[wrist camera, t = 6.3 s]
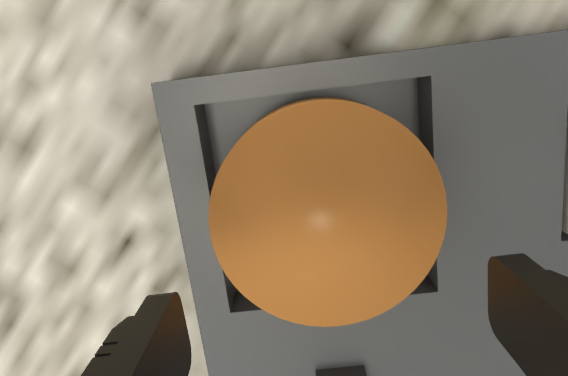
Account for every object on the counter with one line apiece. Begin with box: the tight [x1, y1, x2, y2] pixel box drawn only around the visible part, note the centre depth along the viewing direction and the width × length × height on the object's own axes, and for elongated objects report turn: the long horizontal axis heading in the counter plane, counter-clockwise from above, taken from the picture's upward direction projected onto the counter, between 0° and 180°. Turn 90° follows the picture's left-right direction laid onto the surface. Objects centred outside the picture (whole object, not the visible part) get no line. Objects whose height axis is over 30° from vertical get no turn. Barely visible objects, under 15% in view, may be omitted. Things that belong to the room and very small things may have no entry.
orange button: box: [208, 97, 447, 327], centre depth 18 cm, size 9×9×2 cm
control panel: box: [151, 30, 568, 376], centre depth 20 cm, size 28×20×4 cm
